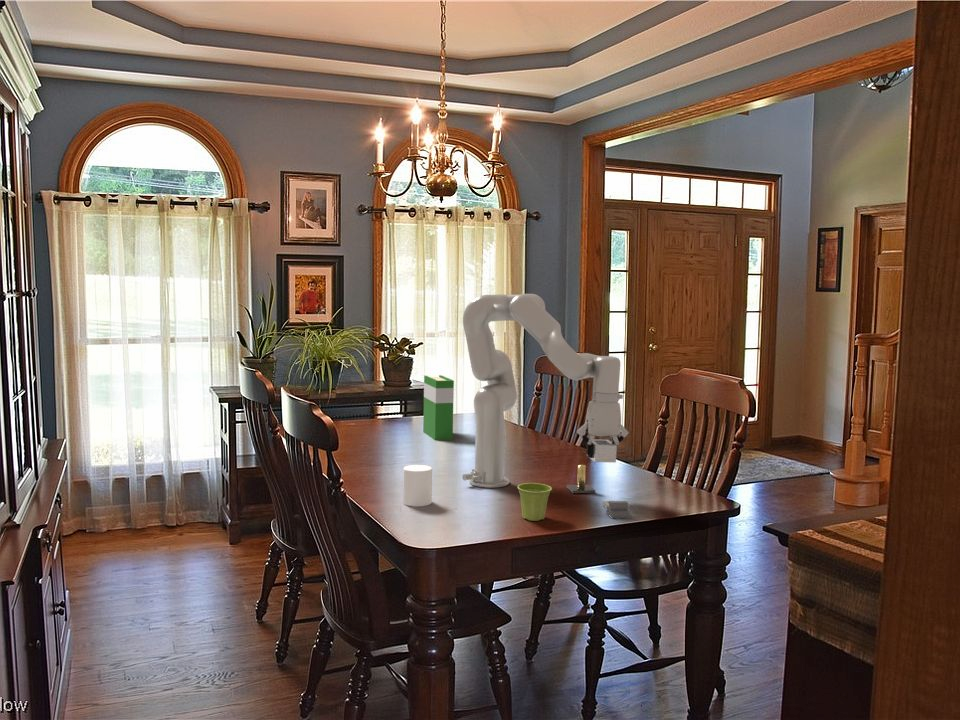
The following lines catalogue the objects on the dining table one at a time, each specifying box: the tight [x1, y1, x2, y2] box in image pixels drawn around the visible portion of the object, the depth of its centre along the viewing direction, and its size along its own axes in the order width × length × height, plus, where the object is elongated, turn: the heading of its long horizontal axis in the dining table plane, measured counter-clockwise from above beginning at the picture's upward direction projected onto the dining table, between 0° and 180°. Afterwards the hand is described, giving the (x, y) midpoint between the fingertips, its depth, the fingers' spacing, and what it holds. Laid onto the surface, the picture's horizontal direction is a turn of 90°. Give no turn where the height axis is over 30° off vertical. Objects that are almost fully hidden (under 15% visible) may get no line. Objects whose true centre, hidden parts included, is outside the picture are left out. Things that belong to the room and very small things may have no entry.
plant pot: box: [517, 482, 553, 522], centre depth 224 cm, size 9×9×9 cm
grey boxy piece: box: [606, 500, 631, 519], centre depth 228 cm, size 5×5×4 cm
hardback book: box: [422, 374, 455, 441], centre depth 336 cm, size 18×7×24 cm, turn 19°
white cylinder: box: [402, 464, 433, 508], centre depth 238 cm, size 8×10×12 cm
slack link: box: [602, 500, 610, 510], centre depth 236 cm, size 6×4×2 cm, turn 9°
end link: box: [589, 438, 618, 463], centre depth 244 cm, size 8×6×5 cm
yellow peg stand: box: [566, 464, 596, 494], centre depth 254 cm, size 7×7×8 cm
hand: (601, 456), depth 244 cm, fingers closed on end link, 6 cm apart
